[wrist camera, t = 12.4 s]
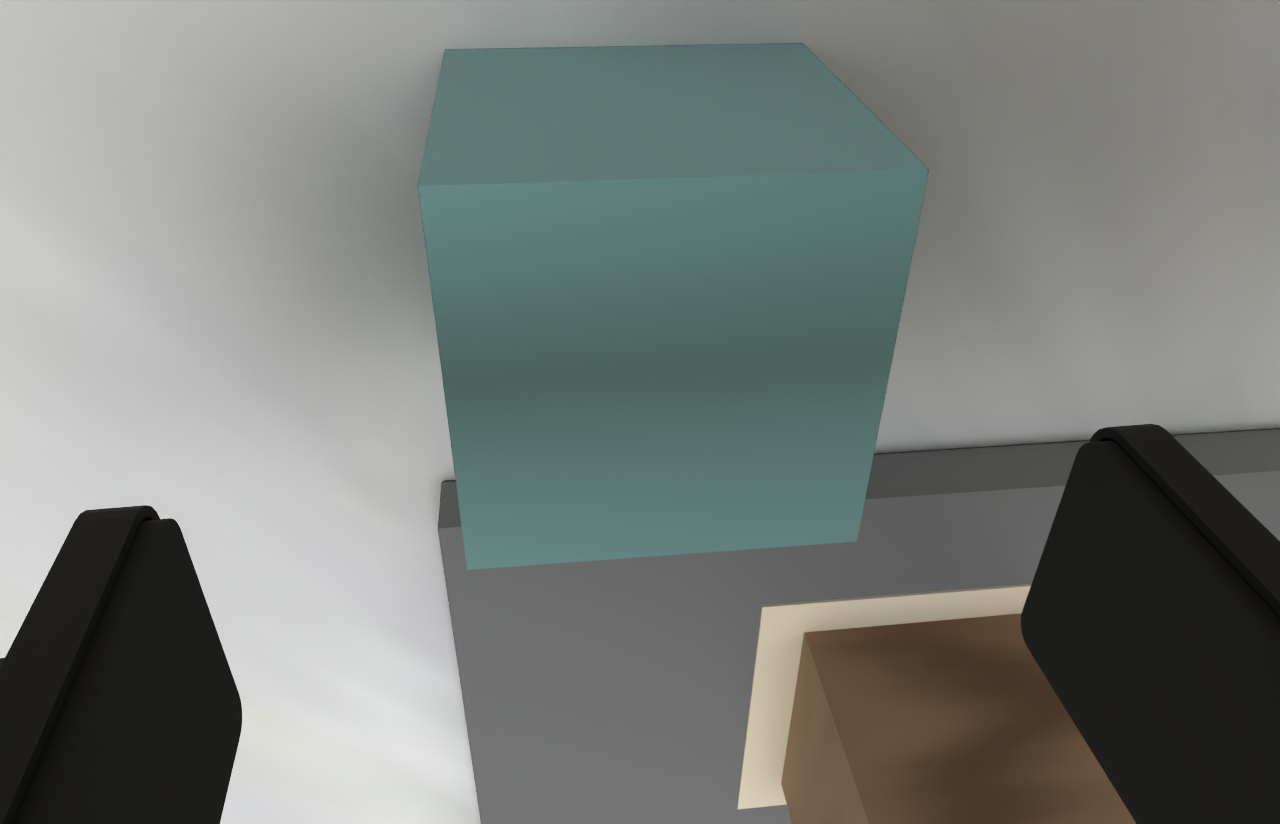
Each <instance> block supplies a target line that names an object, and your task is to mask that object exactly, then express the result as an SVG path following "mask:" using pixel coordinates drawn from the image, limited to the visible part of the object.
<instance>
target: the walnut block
mask: <svg viewBox="0 0 1280 824" xmlns="http://www.w3.org/2000/svg"><path fill="white" fill-rule="evenodd" d="M1021 614H1022V613H1019V614H1008V615H997V616H985V617H974V618H962V619H951V620H940V621H928V622H917V623H906V624H894V625H883V626H871V627H860V628H849V629H837V630H826V631H814V632H804V637H803V643H802V650H801V656H800V663H799V669H798V676H797V683H796V689H795V696H794V702H793V709H792V715H791V722H790V728H789V735H788V741H787V748H786V755H785V761H784V768H783V774H782V781H781V785H782V788H783V792H784V796H785V800H786V803H787V807H788V811H789V815H790V818H791V822H792V824H1136V822H1135V821H1134V819H1133V817H1132V816H1131V814H1130V813H1129V811H1128V809H1127V808H1126V806H1125V805H1124V803H1123V801H1122V800H1121V798H1120V796H1119V795H1118V793H1117V792H1116V790H1115V788H1114V787H1113V785H1112V784H1111V782H1110V780H1109V779H1108V777H1107V775H1106V774H1105V772H1104V771H1103V769H1102V767H1101V766H1100V764H1099V763H1098V761H1097V759H1096V758H1095V756H1094V754H1093V753H1092V751H1091V750H1090V748H1089V746H1088V745H1087V743H1086V742H1085V740H1084V738H1083V737H1082V735H1081V733H1080V732H1079V730H1078V729H1077V727H1076V725H1075V724H1074V722H1073V720H1072V719H1071V717H1070V716H1069V714H1068V712H1067V711H1066V709H1065V708H1064V706H1063V704H1062V703H1061V701H1060V699H1059V698H1058V696H1057V695H1056V693H1055V691H1054V690H1053V688H1052V687H1051V685H1050V683H1049V682H1048V680H1047V678H1046V677H1045V675H1044V674H1043V672H1042V670H1041V669H1040V667H1039V666H1038V664H1037V662H1036V661H1035V659H1034V657H1033V656H1032V654H1031V653H1030V651H1029V649H1028V648H1027V646H1026V644H1025V642H1024V639H1023V635H1022V631H1021Z"/></svg>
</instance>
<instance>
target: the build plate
mask: <svg viewBox="0 0 1280 824" xmlns="http://www.w3.org/2000/svg"><path fill="white" fill-rule="evenodd" d="M1173 437H1174V438H1175V439H1176V440H1177V441H1178V442H1179V443H1180V444H1181V445H1182V446H1183V447H1184V448H1185V449H1186V450H1187V451H1188V452H1189V453H1190V454H1191V455H1192V456H1193V457H1194V458H1195V459H1196V460H1197V461H1198V462H1199V463H1200V464H1201V465H1202V466H1203V467H1204V468H1206V469H1207V470H1208V471H1209V472H1210V473H1211V474H1212V475H1213V476H1214V477H1215V478H1216V479H1217V480H1218V481H1219V482H1220V483H1221V484H1222V485H1223V486H1224V487H1225V488H1226V489H1227V490H1228V491H1229V492H1230V493H1231V494H1232V495H1233V496H1234V497H1235V498H1236V499H1237V500H1238V501H1239V502H1240V503H1241V504H1242V505H1243V506H1244V507H1245V508H1246V509H1247V510H1248V511H1249V512H1250V513H1251V514H1252V515H1253V516H1254V517H1255V518H1256V519H1258V520H1259V521H1260V522H1261V523H1262V524H1263V525H1264V526H1265V527H1266V528H1267V529H1268V530H1269V531H1270V532H1271V533H1272V534H1273V535H1274V536H1275V537H1276V538H1277V539H1278V540H1279V541H1280V429H1269V430H1254V431H1238V432H1222V433H1206V434H1191V435H1175V436H1173ZM1089 442H1090V441H1080V442H1065V443H1049V444H1033V445H1017V446H1001V447H986V448H970V449H954V450H938V451H923V452H907V453H891V454H875V455H873V460H872V466H871V471H870V476H869V481H868V486H867V491H866V497H865V502H864V507H863V512H862V517H861V522H860V528H859V533H858V538H857V542H843V543H830V544H816V545H802V546H789V547H775V548H761V549H747V550H734V551H720V552H706V553H693V554H679V555H665V556H651V557H638V558H624V559H610V560H596V561H583V562H569V563H555V564H542V565H528V566H514V567H500V568H487V569H473V570H467V565H466V557H465V549H464V541H463V534H462V526H461V518H460V510H459V502H458V495H457V487H456V481H450V482H442V485H441V497H440V509H439V521H438V533H439V540H440V547H441V553H442V560H443V567H444V574H445V581H446V587H447V594H448V601H449V608H450V615H451V621H452V628H453V635H454V642H455V649H456V656H457V662H458V669H459V676H460V683H461V690H462V696H463V703H464V710H465V717H466V724H467V730H468V737H469V744H470V751H471V758H472V765H473V771H474V778H475V785H476V792H477V799H478V805H479V812H480V819H481V824H792V822H791V818H790V815H789V811H788V807H787V803H786V800H785V796H784V792H783V788H782V785H781V781H782V774H783V768H784V761H785V755H786V748H787V741H788V735H789V728H790V722H791V715H792V709H793V702H794V696H795V689H796V683H797V676H798V669H799V663H800V656H801V650H802V643H803V637H804V632H814V631H826V630H837V629H849V628H860V627H871V626H883V625H894V624H906V623H917V622H928V621H940V620H951V619H962V618H974V617H985V616H997V615H1008V614H1019V613H1022V610H1023V607H1024V604H1025V602H1026V599H1027V596H1028V593H1029V590H1030V587H1031V584H1032V581H1033V578H1034V576H1035V573H1036V570H1037V567H1038V564H1039V561H1040V558H1041V555H1042V553H1043V550H1044V547H1045V544H1046V541H1047V538H1048V535H1049V532H1050V529H1051V527H1052V524H1053V521H1054V518H1055V515H1056V512H1057V509H1058V506H1059V503H1060V501H1061V498H1062V495H1063V492H1064V489H1065V486H1066V483H1067V480H1068V477H1069V475H1070V472H1071V469H1072V466H1073V463H1074V460H1075V457H1076V454H1077V452H1078V450H1079V448H1080V447H1081V446H1082V445H1083V444H1085V443H1089Z"/></svg>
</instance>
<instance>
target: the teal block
mask: <svg viewBox="0 0 1280 824" xmlns="http://www.w3.org/2000/svg"><path fill="white" fill-rule="evenodd" d="M928 171H929V170H928V169H927V168H926V167H925V166H924V165H923V164H922V163H921V161H920V160H919V159H918V158H917V157H916V156H915V155H914V154H913V153H912V152H911V151H910V150H909V149H908V148H907V147H906V146H905V145H904V144H903V143H902V142H901V141H900V140H899V139H898V138H897V137H896V136H895V135H894V134H893V133H892V132H891V131H890V130H889V129H888V128H887V127H886V126H885V125H884V124H883V123H882V122H881V121H880V120H879V119H878V118H877V117H876V116H875V115H874V114H873V113H872V112H871V111H870V110H869V109H868V108H867V107H866V106H865V105H864V104H863V103H862V102H861V101H860V100H859V99H858V98H857V97H856V96H855V95H854V94H853V93H852V92H851V91H850V90H849V89H848V88H847V87H846V86H845V85H844V84H843V83H842V82H841V81H840V80H839V79H838V78H837V77H836V76H835V75H834V74H833V73H832V72H831V71H830V70H829V69H828V68H827V67H826V66H825V65H824V64H823V63H822V62H821V61H820V60H819V59H818V58H817V57H816V56H815V55H814V54H813V53H812V52H811V51H810V50H809V49H808V48H807V47H806V46H805V45H804V44H803V43H775V44H719V45H662V46H606V47H549V48H493V49H445V51H444V56H443V61H442V66H441V71H440V76H439V81H438V87H437V92H436V97H435V102H434V107H433V112H432V117H431V122H430V128H429V133H428V138H427V143H426V148H425V153H424V158H423V163H422V169H421V174H420V179H419V184H418V189H419V197H420V205H421V213H422V221H423V229H424V236H425V244H426V252H427V260H428V268H429V276H430V283H431V291H432V299H433V307H434V315H435V322H436V330H437V338H438V346H439V354H440V362H441V369H442V377H443V385H444V393H445V401H446V409H447V416H448V424H449V432H450V440H451V448H452V455H453V463H454V471H455V479H456V487H457V495H458V502H459V510H460V518H461V526H462V534H463V541H464V549H465V557H466V565H467V570H473V569H487V568H500V567H514V566H528V565H542V564H555V563H569V562H583V561H596V560H610V559H624V558H638V557H651V556H665V555H679V554H693V553H706V552H720V551H734V550H747V549H761V548H775V547H789V546H802V545H816V544H830V543H843V542H857V538H858V533H859V528H860V522H861V517H862V512H863V507H864V502H865V497H866V491H867V486H868V481H869V476H870V471H871V466H872V460H873V455H874V450H875V445H876V440H877V435H878V430H879V424H880V419H881V414H882V409H883V404H884V399H885V393H886V388H887V383H888V378H889V373H890V368H891V362H892V357H893V352H894V347H895V342H896V337H897V331H898V326H899V321H900V316H901V311H902V306H903V300H904V295H905V290H906V285H907V280H908V275H909V269H910V264H911V259H912V254H913V249H914V244H915V238H916V233H917V228H918V223H919V218H920V213H921V207H922V202H923V197H924V192H925V187H926V182H927V176H928Z"/></svg>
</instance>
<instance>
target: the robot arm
mask: <svg viewBox="0 0 1280 824" xmlns="http://www.w3.org/2000/svg"><path fill="white" fill-rule="evenodd" d="M1021 631H1022V635H1023V639H1024V642H1025V644H1026V646H1027V648H1028V649H1029V651H1030V653H1031V654H1032V656H1033V657H1034V659H1035V661H1036V662H1037V664H1038V666H1039V667H1040V669H1041V670H1042V672H1043V674H1044V675H1045V677H1046V678H1047V680H1048V682H1049V683H1050V685H1051V687H1052V688H1053V690H1054V691H1055V693H1056V695H1057V696H1058V698H1059V699H1060V701H1061V703H1062V704H1063V706H1064V708H1065V709H1066V711H1067V712H1068V714H1069V716H1070V717H1071V719H1072V720H1073V722H1074V724H1075V725H1076V727H1077V729H1078V730H1079V732H1080V733H1081V735H1082V737H1083V738H1084V740H1085V742H1086V743H1087V745H1088V746H1089V748H1090V750H1091V751H1092V753H1093V754H1094V756H1095V758H1096V759H1097V761H1098V763H1099V764H1100V766H1101V767H1102V769H1103V771H1104V772H1105V774H1106V775H1107V777H1108V779H1109V780H1110V782H1111V784H1112V785H1113V787H1114V788H1115V790H1116V792H1117V793H1118V795H1119V796H1120V798H1121V800H1122V801H1123V803H1124V805H1125V806H1126V808H1127V809H1128V811H1129V813H1130V814H1131V816H1132V817H1133V819H1134V821H1135V822H1136V824H1280V541H1279V540H1278V539H1277V538H1276V537H1275V536H1274V535H1273V534H1272V533H1271V532H1270V531H1269V530H1268V529H1267V528H1266V527H1265V526H1264V525H1263V524H1262V523H1261V522H1260V521H1259V520H1258V519H1256V518H1255V517H1254V516H1253V515H1252V514H1251V513H1250V512H1249V511H1248V510H1247V509H1246V508H1245V507H1244V506H1243V505H1242V504H1241V503H1240V502H1239V501H1238V500H1237V499H1236V498H1235V497H1234V496H1233V495H1232V494H1231V493H1230V492H1229V491H1228V490H1227V489H1226V488H1225V487H1224V486H1223V485H1222V484H1221V483H1220V482H1219V481H1218V480H1217V479H1216V478H1215V477H1214V476H1213V475H1212V474H1211V473H1210V472H1209V471H1208V470H1207V469H1206V468H1204V467H1203V466H1202V465H1201V464H1200V463H1199V462H1198V461H1197V460H1196V459H1195V458H1194V457H1193V456H1192V455H1191V454H1190V453H1189V452H1188V451H1187V450H1186V449H1185V448H1184V447H1183V446H1182V445H1181V444H1180V443H1179V442H1178V441H1177V440H1176V439H1175V438H1174V437H1173V436H1172V435H1171V434H1170V433H1169V432H1168V431H1166V430H1165V429H1164V428H1162V427H1161V426H1159V425H1154V424H1145V425H1132V426H1120V427H1108V428H1103V429H1099V430H1098V431H1097V432H1096V433H1095V434H1094V435H1093V436H1092V438H1091V440H1090V442H1089V443H1085V444H1083V445H1082V446H1081V447H1080V448H1079V450H1078V452H1077V454H1076V457H1075V460H1074V463H1073V466H1072V469H1071V472H1070V475H1069V477H1068V480H1067V483H1066V486H1065V489H1064V492H1063V495H1062V498H1061V501H1060V503H1059V506H1058V509H1057V512H1056V515H1055V518H1054V521H1053V524H1052V527H1051V529H1050V532H1049V535H1048V538H1047V541H1046V544H1045V547H1044V550H1043V553H1042V555H1041V558H1040V561H1039V564H1038V567H1037V570H1036V573H1035V576H1034V578H1033V581H1032V584H1031V587H1030V590H1029V593H1028V596H1027V599H1026V602H1025V604H1024V607H1023V610H1022V614H1021ZM241 726H242V708H241V700H240V697H239V693H238V690H237V688H236V685H235V682H234V679H233V676H232V673H231V671H230V668H229V665H228V662H227V659H226V656H225V654H224V651H223V648H222V645H221V642H220V639H219V637H218V634H217V631H216V628H215V625H214V622H213V620H212V617H211V614H210V611H209V608H208V605H207V603H206V600H205V597H204V594H203V591H202V589H201V586H200V583H199V580H198V577H197V574H196V572H195V569H194V566H193V563H192V560H191V557H190V555H189V552H188V549H187V546H186V543H185V540H184V538H183V535H182V532H181V529H180V527H179V525H178V523H177V522H176V521H175V520H174V519H160V518H159V516H158V514H157V512H156V511H155V510H154V509H153V508H152V507H151V506H133V507H121V508H109V509H96V510H86V511H84V512H83V513H81V514H80V515H79V516H78V518H77V519H76V521H75V522H74V524H73V526H72V528H71V530H70V532H69V534H68V536H67V538H66V540H65V542H64V544H63V546H62V548H61V550H60V552H59V554H58V555H57V557H56V559H55V561H54V563H53V565H52V567H51V569H50V571H49V573H48V575H47V577H46V579H45V581H44V583H43V585H42V587H41V589H40V591H39V593H38V595H37V597H36V599H35V601H34V603H33V604H32V606H31V608H30V610H29V612H28V614H27V616H26V618H25V620H24V622H23V624H22V626H21V628H20V630H19V632H18V634H17V636H16V638H15V640H14V642H13V644H12V646H11V648H10V650H9V651H8V653H7V655H6V657H5V658H0V824H220V820H221V815H222V811H223V807H224V803H225V798H226V794H227V790H228V785H229V781H230V777H231V772H232V768H233V764H234V760H235V755H236V751H237V747H238V742H239V738H240V733H241Z"/></svg>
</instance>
